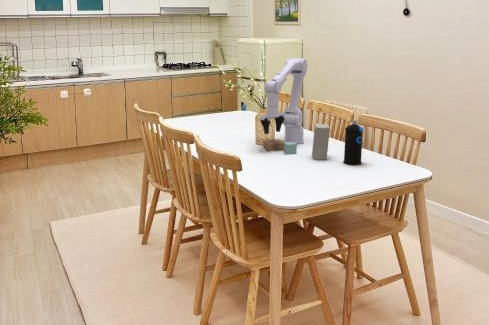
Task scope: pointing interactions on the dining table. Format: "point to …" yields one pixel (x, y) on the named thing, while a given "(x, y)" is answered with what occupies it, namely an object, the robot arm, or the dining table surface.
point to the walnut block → (273, 145)
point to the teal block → (290, 148)
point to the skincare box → (320, 141)
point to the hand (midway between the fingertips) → (272, 132)
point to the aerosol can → (353, 144)
